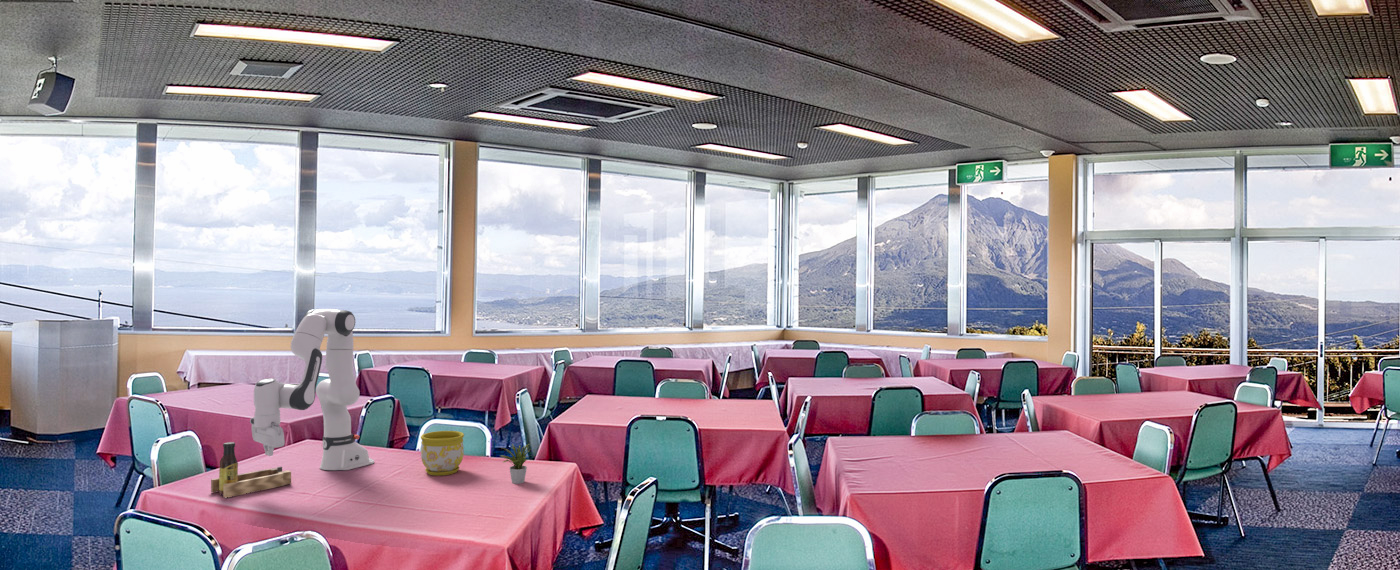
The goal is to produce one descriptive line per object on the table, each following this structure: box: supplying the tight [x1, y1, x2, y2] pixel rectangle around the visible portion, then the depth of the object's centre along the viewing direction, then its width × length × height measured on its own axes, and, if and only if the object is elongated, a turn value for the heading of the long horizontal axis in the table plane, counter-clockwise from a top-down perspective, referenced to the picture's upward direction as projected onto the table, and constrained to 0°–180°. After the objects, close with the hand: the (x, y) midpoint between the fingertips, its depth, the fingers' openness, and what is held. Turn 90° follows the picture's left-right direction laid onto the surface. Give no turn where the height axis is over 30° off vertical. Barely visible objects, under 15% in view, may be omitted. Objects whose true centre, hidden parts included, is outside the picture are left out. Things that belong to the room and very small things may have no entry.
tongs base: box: [210, 466, 283, 493], centre depth 321 cm, size 26×8×7 cm, turn 142°
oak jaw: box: [222, 470, 292, 499], centre depth 317 cm, size 26×4×5 cm, turn 144°
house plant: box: [499, 443, 533, 485], centre depth 335 cm, size 14×14×16 cm
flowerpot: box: [420, 430, 465, 477], centre depth 348 cm, size 18×18×16 cm
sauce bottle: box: [218, 441, 239, 495], centre depth 313 cm, size 6×6×20 cm
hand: (269, 455), depth 314 cm, fingers closed
